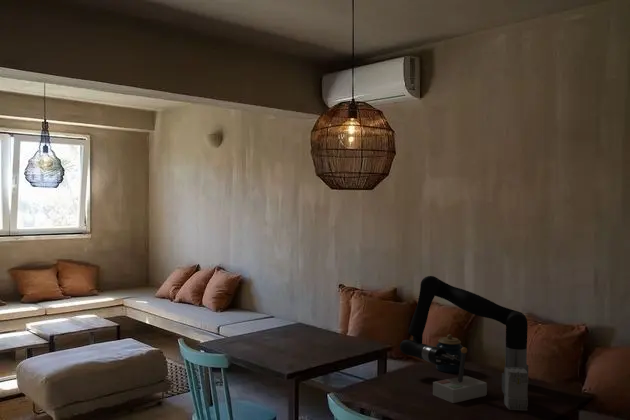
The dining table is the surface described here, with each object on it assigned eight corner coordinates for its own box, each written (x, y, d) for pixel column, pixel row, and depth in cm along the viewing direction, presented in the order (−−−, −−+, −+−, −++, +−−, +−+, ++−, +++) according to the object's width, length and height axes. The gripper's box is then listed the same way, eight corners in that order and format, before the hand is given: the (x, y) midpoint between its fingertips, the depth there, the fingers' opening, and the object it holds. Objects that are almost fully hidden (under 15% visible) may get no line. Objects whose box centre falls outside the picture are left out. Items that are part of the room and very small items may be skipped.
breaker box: (465, 387, 257) (466, 374, 257) (486, 395, 247) (486, 382, 247) (432, 394, 247) (433, 381, 247) (453, 403, 237) (453, 389, 237)
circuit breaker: (518, 398, 244) (519, 363, 244) (527, 410, 230) (528, 373, 230) (500, 397, 245) (501, 362, 244) (508, 409, 230) (509, 372, 230)
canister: (436, 372, 281) (437, 336, 281) (435, 365, 294) (435, 330, 294) (463, 374, 279) (464, 337, 279) (461, 366, 292) (461, 332, 291)
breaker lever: (460, 379, 249) (464, 346, 247) (464, 382, 246) (468, 348, 244) (455, 380, 247) (460, 346, 245) (460, 383, 245) (464, 348, 243)
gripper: (422, 348, 258) (449, 356, 243) (444, 345, 265) (472, 353, 250) (422, 364, 258) (449, 374, 243) (444, 361, 265) (472, 370, 250)
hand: (461, 363), depth 246 cm, fingers closed
